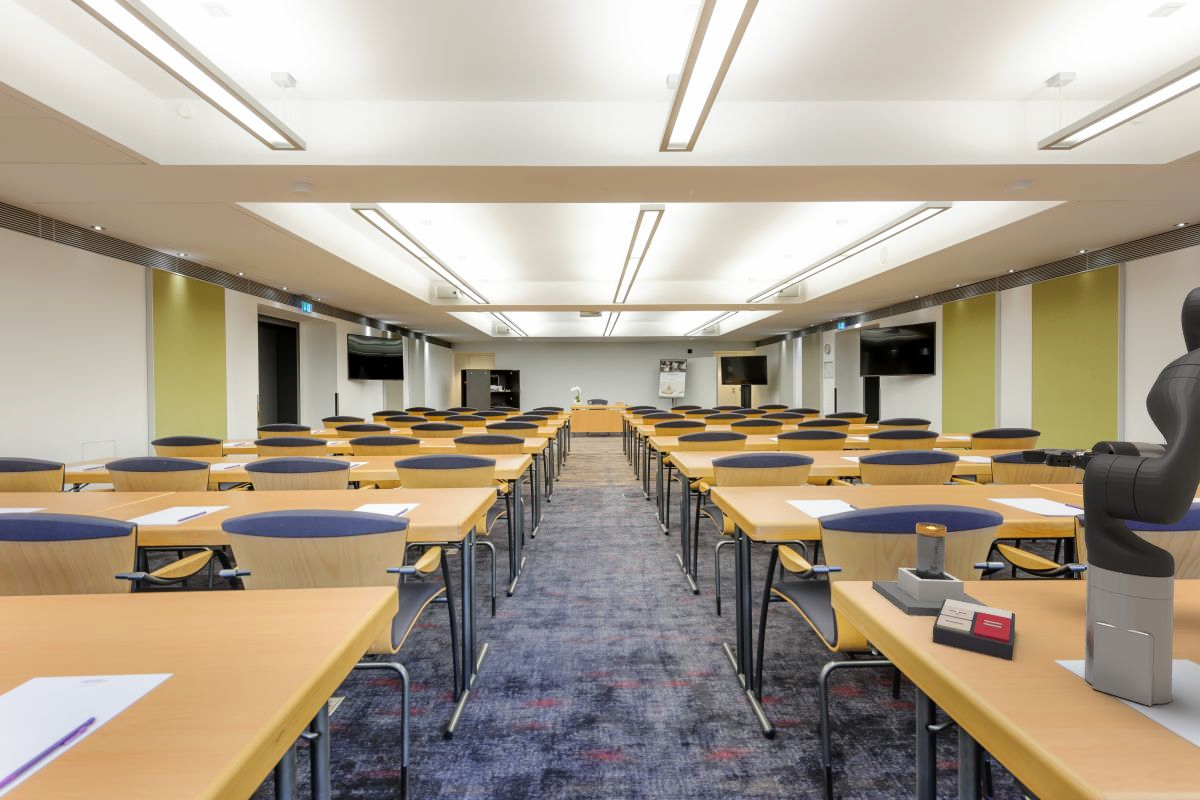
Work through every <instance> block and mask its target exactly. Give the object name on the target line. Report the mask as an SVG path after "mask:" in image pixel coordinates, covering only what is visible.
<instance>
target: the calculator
mask: <svg viewBox="0 0 1200 800" xmlns="http://www.w3.org/2000/svg"><path fill="white" fill-rule="evenodd" d="M935 618H936V619H935V622H934V624H933V627H932V643H935V644H939V645H944V646H947V647H952V648H956V649H959V650H964V651H969V652H973V653H977V654H981V655H986V656H990V657H994V658H998V659H1003V660H1006V661H1013V656H1014V653H1013V652H1014V644H1015V643H1014V642H1015V631H1016V614H1015V613H1013V612H1012V611H1011V610H1010V611H1009V610H1005V609H1000V608H996V607H990V606H988V607H986V606H981V605H976V604H971V603H966V602H961V601H956V600H951V599H946V600H944V601H943V603H942V606H941V608H940V611H939V613H938V616H936V617H935Z"/></svg>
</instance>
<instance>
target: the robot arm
mask: <svg viewBox="0 0 1200 800" xmlns="http://www.w3.org/2000/svg"><path fill="white" fill-rule="evenodd" d="M1180 318H1181V319H1180V321H1181V330H1182V336H1183V339H1184V343H1185V347H1186V348H1185V349H1186V351H1187V353H1185V354H1183V355H1181V356H1180V357H1178V358H1176V359H1173V360H1172V361H1171V362H1170V363H1168V364H1167V365H1166V366H1165V367H1163V369H1162V370H1161V371H1160V373H1159V374H1158V376H1157V378H1156V380H1155V381H1154V383H1153V384H1152V386H1151V388H1150V389H1149V392H1148V394H1147V396H1146V400H1145V405H1146V406H1145V407H1146V411H1147V414H1148V415H1149V417H1150V419H1151V421H1152V423H1153V424H1154V426H1155V427H1156V428H1157V430H1158V431H1159V433H1160V434H1161V436H1163V438H1164V440H1165V442H1166V443H1150V442H1143V441H1142V442H1141V441H1119V440H1118V441H1117V440H1115V441H1114V440H1113V441H1112V440H1111V441H1110V440H1101V441H1099V442H1096V443H1095V444H1093V446H1092V447H1091V449H1086V448H1075V449H1064V448H1058V449H1055V450H1054V449H1053V450H1051V449H1049V450H1048V449H1040V450H1022V451H1021V455H1020V456H1021V459H1020V460H1021V461H1022V462H1025V463H1043V464H1045V465H1046V466H1048V467H1053V468H1054V467H1055V468H1057V467H1058V468H1059V467H1060V468H1072V469H1073V470H1076V471H1084V473H1083V477H1082V478H1083V479H1082V480H1083V481H1082V499H1083V502H1082V503H1083V516H1084V527H1083V528H1084V544H1085V549H1086V552H1087V554H1086V557H1087V558H1086V588H1085V589H1086V591H1085V592H1086V595H1085V599H1086V600H1085V629H1084V630H1085V637H1084V638H1085V639H1084V640H1085V641H1084V642H1085V643H1084V679H1085V680H1086V682H1088V683H1089V684H1091V688H1092V689H1093V690H1097V691H1100V692H1103V693H1107V694H1110V695H1113V696H1117V697H1120V698H1123V699H1126V700H1129V701H1133V702H1137V703H1139V704H1142V705H1146V706H1149V707H1152V706H1153V705H1157V704H1161V705H1162V704H1167V703H1170V702H1171V701H1172V698H1173V697H1172V696H1173V693H1172V692H1173V650H1174V649H1173V645H1174V644H1173V642H1174V636H1173V635H1174V604H1175V603H1174V598H1175V574H1176V573H1175V569H1176V567H1175V566H1176V565H1175V558H1174V556H1173V554H1172V553H1170V552H1169V551H1168V550H1166V549H1164V548H1162V547H1160V546H1157V545H1156V544H1154V543H1151V542H1149V541H1148V540H1146V539H1144V538H1142V537H1141V536H1139V535H1138V534H1137V533H1135V532H1134V531H1132V530H1131V529H1130V528H1129V526H1128V523H1127V522H1126V521H1130V522H1131V521H1132V522H1139V523H1145V524H1151V525H1160V526H1161V525H1162V526H1171V525H1172V526H1173V525H1176V524H1178V523H1180V522H1181V521H1182V520H1183V519H1184V517H1186V515H1188V513H1189V510H1190V508H1191V506H1192V504H1193V502H1194V499H1195V497H1196V493H1197V491H1198V488H1199V485H1200V286H1198V287H1195V288H1193V289H1191V291H1189V293H1187V295H1186V297H1185V298H1184V301H1183V303H1182V308H1181V316H1180Z"/></svg>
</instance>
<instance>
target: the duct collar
mask: <svg viewBox="0 0 1200 800" xmlns="http://www.w3.org/2000/svg"><path fill="white" fill-rule="evenodd" d="M964 583H965V581H963V580H961V579H959V578H958V577H955V576H953V575H951V574H950V573H948V572H946V571H945V572H944V580H931V579H920V578H919V577H917V576H916V567H915V568H914V567H911V568H910V567H897V581H893V580H872V585H871V586H872V589H873V590H875V591H876V592H878V593H879V594H880V595H882V596H883V597H884V598H885V599H886V600H888V601H889V602H890V603H892V604H893V605H894V606H896V607H897V608H898V609H899V610H901V611H902V612H903V613H904V614H906V615H908V616H926V617H927V616H929V617H930V616H931V617H932V616H933V617H937V616H938V613H939V611H940V608H941V606H942V603H943V601H944V600H946V599H951V600H956V601H961V602H966V603H971V604H976V605H981V606H986V607H989V606H988V605H987V604H985V603H983V602H982V601H980V600H977V599H976V598H975V597H973V596H971V595H969V594H968V593H965V592H964V591H965V590H964V588H965V586H964V585H965V584H964Z"/></svg>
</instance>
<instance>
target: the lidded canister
mask: <svg viewBox="0 0 1200 800" xmlns="http://www.w3.org/2000/svg"><path fill="white" fill-rule="evenodd" d="M947 529H948V528H947V526H946V525H944V524H940V523H934V522H917V523H915V533H916V557H915V559H916V561H915V562H916V565H915V568H916V576H917V577H919V578H920V579H931V580H944V572H946V571H945V567H946V566H945V563H946V561H945V560H946V536H947V532H948V530H947Z"/></svg>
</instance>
